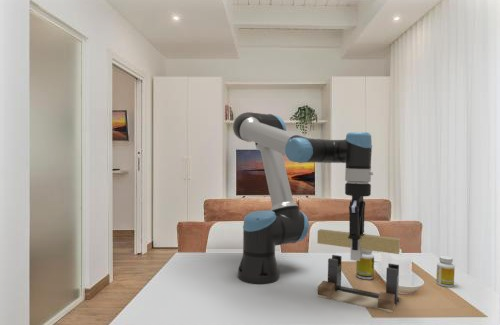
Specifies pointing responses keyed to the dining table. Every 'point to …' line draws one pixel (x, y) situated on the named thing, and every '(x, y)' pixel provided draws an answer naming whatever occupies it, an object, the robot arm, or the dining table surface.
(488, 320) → the dining table surface
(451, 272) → the supplement bottle
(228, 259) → the dining table surface
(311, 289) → the dining table surface
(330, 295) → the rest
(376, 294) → the rack
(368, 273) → the pill bottle
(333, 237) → the rail
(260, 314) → the dining table surface
